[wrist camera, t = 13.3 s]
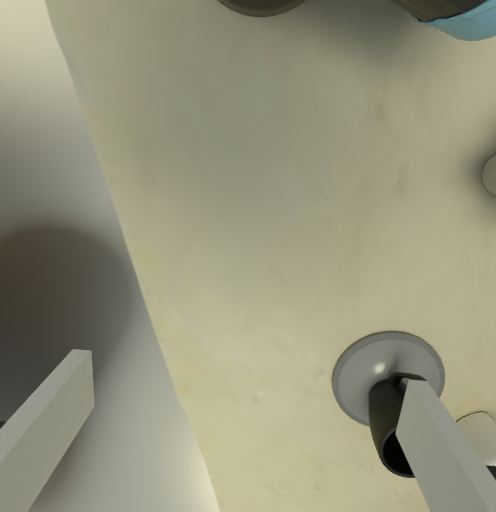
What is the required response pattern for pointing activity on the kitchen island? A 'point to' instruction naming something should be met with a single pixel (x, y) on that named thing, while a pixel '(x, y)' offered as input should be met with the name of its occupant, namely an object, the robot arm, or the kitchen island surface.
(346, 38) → the kitchen island surface
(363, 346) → the round gray plate
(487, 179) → the house plant
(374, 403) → the mug
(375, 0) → the kitchen island surface
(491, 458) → the eye dropper bottle
